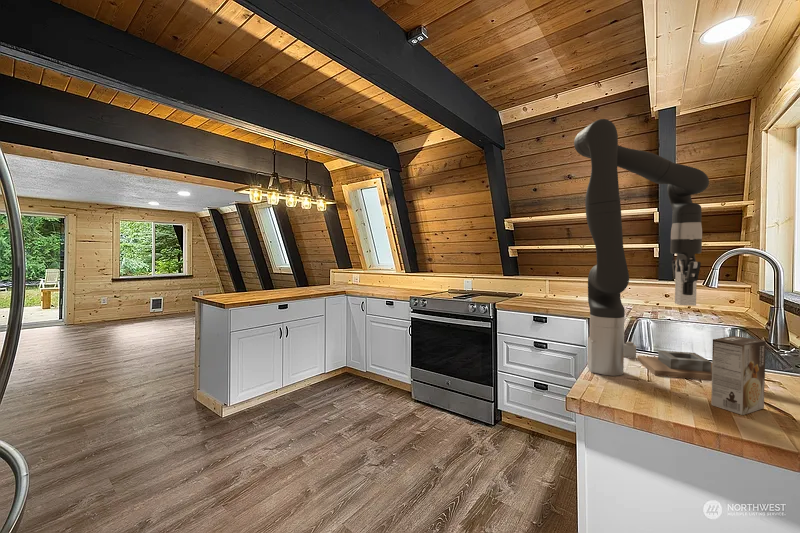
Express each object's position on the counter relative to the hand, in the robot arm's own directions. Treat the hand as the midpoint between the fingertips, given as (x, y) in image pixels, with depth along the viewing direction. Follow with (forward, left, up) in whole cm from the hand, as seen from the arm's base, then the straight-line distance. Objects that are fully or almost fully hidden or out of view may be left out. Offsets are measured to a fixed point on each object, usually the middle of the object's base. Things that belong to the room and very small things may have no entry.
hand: (684, 293), depth 113 cm
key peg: (0, 0, -3) cm, 3 cm away
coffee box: (0, -28, -24) cm, 37 cm away
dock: (0, 0, -24) cm, 24 cm away
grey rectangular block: (-13, +12, -24) cm, 30 cm away
